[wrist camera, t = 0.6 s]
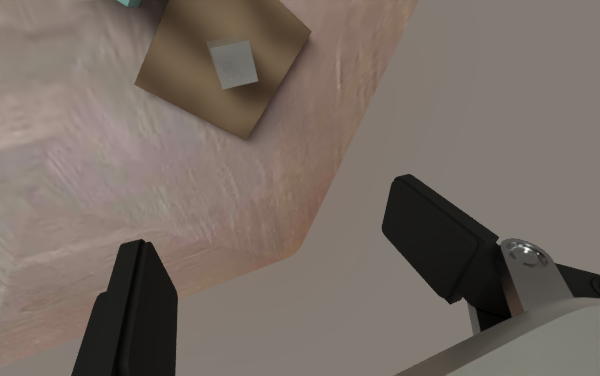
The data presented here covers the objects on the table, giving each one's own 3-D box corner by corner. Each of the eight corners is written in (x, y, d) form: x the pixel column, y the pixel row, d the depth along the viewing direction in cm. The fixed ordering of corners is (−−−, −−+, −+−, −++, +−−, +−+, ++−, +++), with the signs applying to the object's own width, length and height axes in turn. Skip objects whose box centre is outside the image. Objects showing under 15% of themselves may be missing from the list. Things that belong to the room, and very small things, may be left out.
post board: (198, -69, 23) (202, -99, 17) (305, 30, 30) (335, 35, 24) (137, 80, 27) (122, 100, 21) (243, 134, 35) (254, 161, 28)
